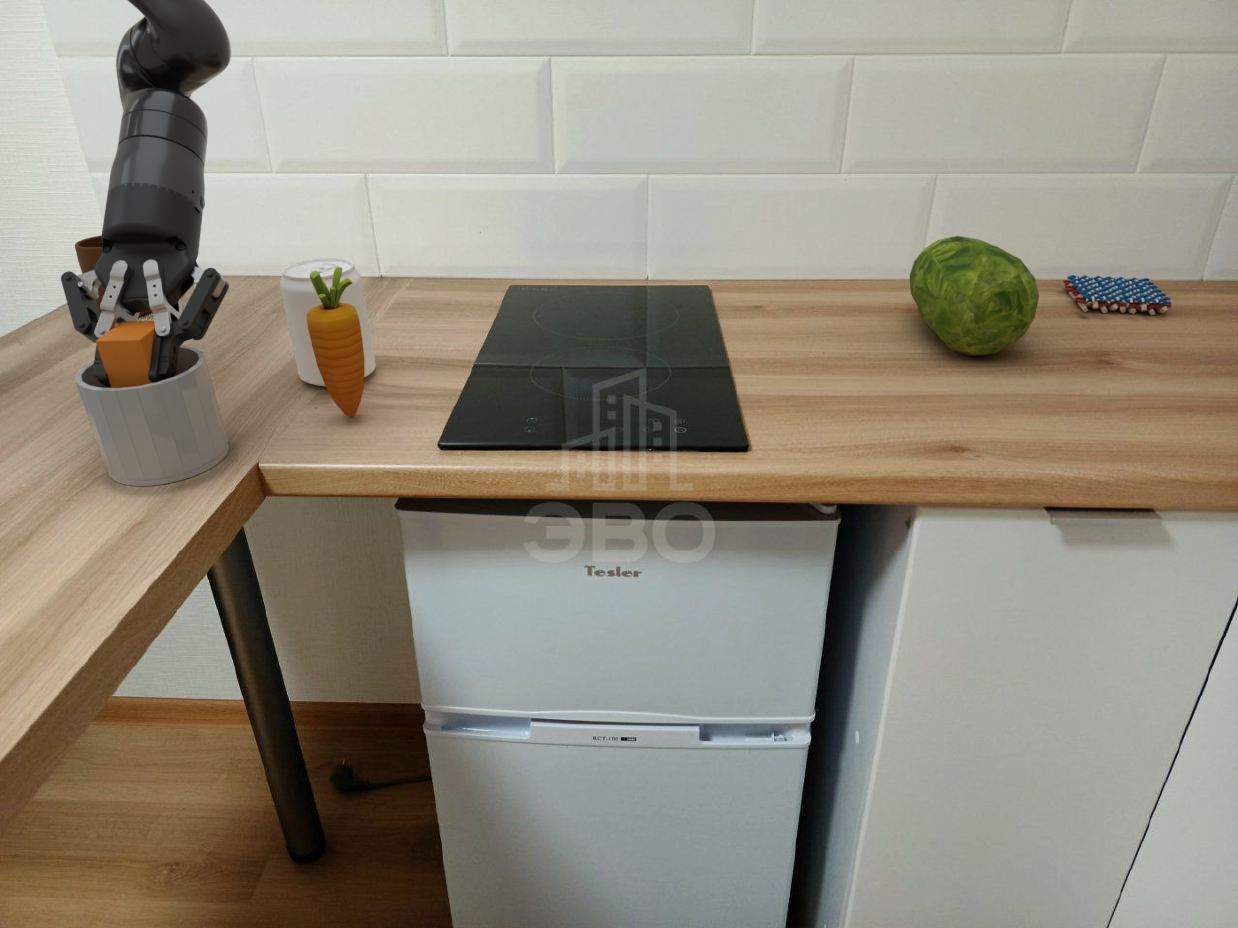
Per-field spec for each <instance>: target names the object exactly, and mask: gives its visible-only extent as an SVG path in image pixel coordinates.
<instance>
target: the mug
mask: <svg viewBox="0 0 1238 928" xmlns="http://www.w3.org/2000/svg"><path fill="white" fill-rule="evenodd" d="M74 248H75V253H76V258H77V261H78V265H79V268H80V271H81V274H83V273H86V272H89V271H92V270H94V269H95V264H96V263H97V261H98V260H99V259H100V257H101V255H102V253H103V246H102V234H101V235H95V236H92V237H88V238H87V237H86V238H84V239H81V240H78V241H77V242H76V243H74ZM105 291H106V289H105V288H104V286H103V285H102V284H101V285H100V286H99V288H98V295H99V298H98V299H94V300H95V303H96V307H97V310H98V313H99V317H100V315H101V309H100V304H101V301H102V299H103V296H104V294H105ZM121 308H122V307H121ZM122 309H123V308H122ZM150 313H153V312H152V311H151V310H148V311H144V312H141V313H140V314H139V316H138V317H141V316H144V315H148V314H150Z"/></svg>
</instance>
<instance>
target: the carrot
mask: <svg viewBox="0 0 1238 928" xmlns="http://www.w3.org/2000/svg"><path fill="white" fill-rule="evenodd" d="M341 273H342V268H340V267H336V268H335V270H334V274H333V282H332V287H331V288H330V292H329V290H328V288H327V286H326V285H325V283H324V282H323V280H322V279H321V276H320V274H319V272H318V271H313V272H312V273H311V274H310V279H311V281H312V284H313V286H314V288H315V290H316V292H317V294H318V297H319V298H320V300H321V302H322V304H321V305H318V306H316V307H314V308H312V309H310V310H309V312H308V313H307V324H308V330H309V334H310V339H311V343H312V347H313V351H314V355H315V359H316V362H317V366H318V369H319V371H320V374H321V376H322V379H323V381H324V383H325V386H326V387H325V386H324V387H325V388H326V390H327V392H328V394H329V396H330V398H331V399H332V400H333V402H334V404H335V405H336V406H337V407H338V409H340V411H341V412H342V413H343V414H344V415H345V416H347V417H348V418H353V417H354V416H355V415H356V414H357V412H358V410H359V407H360V405H361V402H362V399H363V398H362V397H363V393H364V389H365V377H364V351H363V342H362V335H361V328H360V321H359V317H358V314H357V311H356V309H355V307H353V306H352V305H350V304H347V303H340V302H339V301H340V298H341V295H342V293H343V291H344V290H345V289H346V287H347V286H349V285H351V284H352V281H351V280H350V279H349V278H346V279H344V280H342V281H341V282H340V278H341Z"/></svg>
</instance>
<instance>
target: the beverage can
mask: <svg viewBox="0 0 1238 928" xmlns="http://www.w3.org/2000/svg"><path fill="white" fill-rule="evenodd" d="M336 267H340V268H342V273H341V278H340V282H341V281H342V280H344V279H346V278H349V279H350V280H351V281H352V284H351V285H349V286H347V287H346V289H345V290H344V291H343V293H342V295H341V298H340V301H339V302H340V303H347V304H350V305H352V306H353V307H355V309H356V311H357V314H358V317H359V321H360V328H361V335H362V342H363V351H364V378H366V377H368V376H369V375H371V374H372V373H373V372H374V371H375V369H376V367H377V364H376V363H377V362H376V357H375V352H374V351H375V350H374V346H373V340H372V334H371V333H372V332H371V327H370V321H369V315H368V309H367V304H366V298H365V292H364V285H363V280H362V276H361V274H360V272H359V270H358V269H356V267H355V263H354V262H353V261H352V260H350V259H347V258H341V257H319V258H310V259H309V258H308V259H304V260H299V261H296V262H293V263H290V264H288V265H286V266H285V267H283V268H282V269H281V274H282V276H281V278H280V281H279V289H280V294H281V300H282V303H283V309H284V313H285V317H286V322H287V323H286V324H287V326H288V331H289V336H290V341H291V345H292V351H293V354H294V359H295V363H296V368H297V373H298V377H299V378H300V379H301V380H302V381H303V382H305V383H307V384H311V385H315V386H318V387H325V388H326V386H325V383H324V381H323V379H322V376H321V374H320V371H319V369H318V366H317V362H316V359H315V355H314V351H313V347H312V343H311V339H310V334H309V330H308V324H307V313H308V312H309V310H310V309H312V308H314V307H316V306H318V305H321V304H322V302H321V300H320V298H319V297H318V294H317V292H316V290H315V288H314V286H313V284H312V281H311V279H310V274H311V273H312V272H313V271H318V272H319V274H320V276H321V279H322V280H323V282H324V283H325V285H326V286H327V288H328V290H329V292H330V288H331V287H332V282H333V274H334V270H335V268H336Z"/></svg>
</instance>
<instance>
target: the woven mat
mask: <svg viewBox="0 0 1238 928" xmlns="http://www.w3.org/2000/svg"><path fill="white" fill-rule="evenodd" d="M1066 278H1067V279H1063V281H1062V283H1063V284H1064V285H1063V288H1064V289H1065V290H1067V291H1068V293H1069V296H1070V297H1071V298H1072V299H1073V301H1074V302H1077V305H1078V306H1079V308H1080V309H1081V311H1083V313H1086V312H1088V311H1089V309H1088V308H1091V309H1093V310H1098V309H1099V310H1100V312H1102V314H1107V313H1108V310H1109V311H1111V312H1114V311H1117V309H1118V308H1119V312H1120V313H1123V314H1125V312H1126V311H1127V312H1129V314H1132V315H1134V314H1136V312H1137V310H1138V311H1140V312H1147V313H1148V314H1149V315H1150V316H1154V315H1156V312H1155V310H1156V311H1157V312H1158V313H1160V314H1165V313H1166V312H1167V311H1168V309H1170V308H1172V301H1171V297H1168V296H1167V293H1164V292H1163V290H1162V289H1159V286H1157V285H1154V284H1155V283H1154V282H1153V281H1150V280H1151V279H1150V278H1147V277H1145V278H1144V277H1143V278H1141V277H1138V278H1137V277H1135V276H1133V277H1128V278H1125V277H1123V276H1114V277H1111V276H1109V275H1107V276H1100V275H1096V276H1094V275H1092V276H1091V277H1090V276H1088V275H1086V274H1084V275H1080V274H1079V275H1078V276H1076V275H1075V274H1070V275H1068V276H1066ZM1154 309H1155V310H1154Z"/></svg>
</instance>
